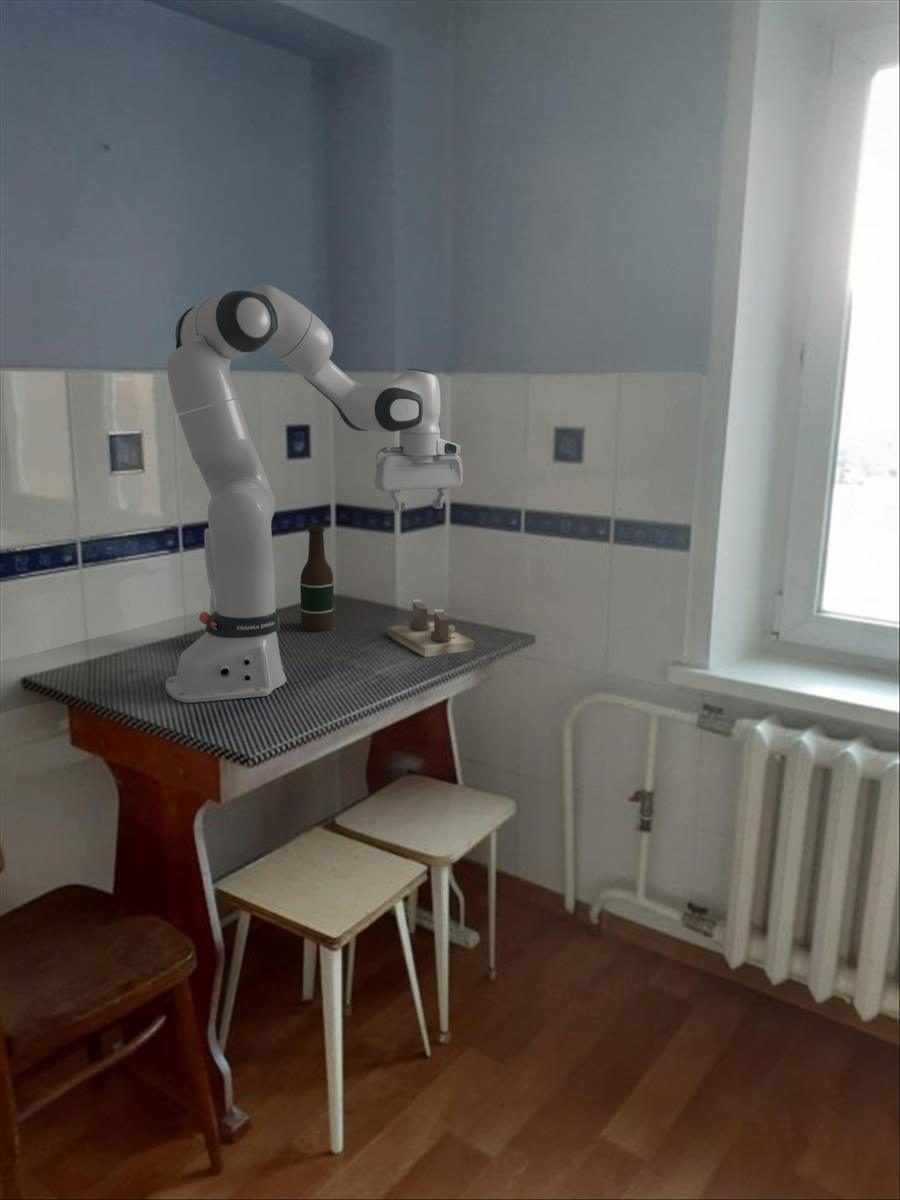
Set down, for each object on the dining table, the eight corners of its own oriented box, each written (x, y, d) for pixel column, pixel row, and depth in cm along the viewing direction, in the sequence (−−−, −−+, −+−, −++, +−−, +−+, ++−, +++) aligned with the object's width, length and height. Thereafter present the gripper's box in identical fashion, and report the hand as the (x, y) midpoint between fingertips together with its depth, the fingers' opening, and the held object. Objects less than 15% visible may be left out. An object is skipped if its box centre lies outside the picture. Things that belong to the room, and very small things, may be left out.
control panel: (425, 657, 197) (425, 640, 196) (388, 635, 212) (388, 620, 211) (474, 649, 203) (474, 634, 202) (434, 629, 218) (434, 614, 217)
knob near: (454, 643, 200) (454, 617, 198) (433, 644, 199) (434, 618, 197) (447, 634, 206) (448, 609, 205) (428, 635, 205) (428, 610, 204)
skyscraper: (251, 643, 205) (247, 517, 199) (239, 653, 198) (234, 523, 191) (214, 641, 206) (208, 516, 199) (201, 652, 198) (195, 522, 192)
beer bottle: (338, 630, 215) (337, 528, 209) (305, 633, 212) (303, 530, 206) (329, 622, 222) (328, 523, 216) (297, 625, 219) (295, 524, 213)
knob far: (432, 631, 208) (433, 606, 207) (413, 632, 207) (413, 607, 206) (425, 623, 215) (425, 599, 213) (406, 624, 214) (407, 600, 212)
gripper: (382, 448, 194) (382, 514, 198) (466, 446, 204) (465, 508, 207) (370, 446, 200) (370, 510, 203) (452, 444, 209) (451, 505, 213)
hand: (419, 509), depth 205 cm, fingers open, 8 cm apart
